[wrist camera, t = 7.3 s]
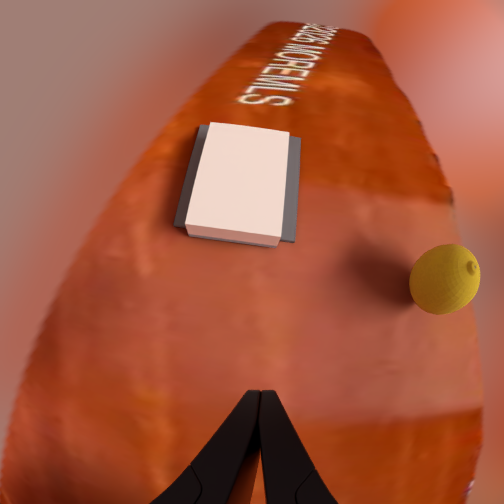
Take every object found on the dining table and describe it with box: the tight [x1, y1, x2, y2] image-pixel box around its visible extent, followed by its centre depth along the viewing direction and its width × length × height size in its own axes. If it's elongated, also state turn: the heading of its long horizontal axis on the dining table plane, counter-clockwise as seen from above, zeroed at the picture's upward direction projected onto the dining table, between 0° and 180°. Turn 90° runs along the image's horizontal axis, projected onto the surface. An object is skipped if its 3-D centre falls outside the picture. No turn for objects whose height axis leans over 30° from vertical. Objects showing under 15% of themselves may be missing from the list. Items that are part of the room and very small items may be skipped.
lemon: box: [409, 244, 480, 315], centre depth 20 cm, size 6×6×8 cm
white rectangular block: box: [185, 122, 289, 248], centre depth 24 cm, size 2×7×10 cm
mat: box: [174, 125, 301, 243], centre depth 26 cm, size 11×10×1 cm
